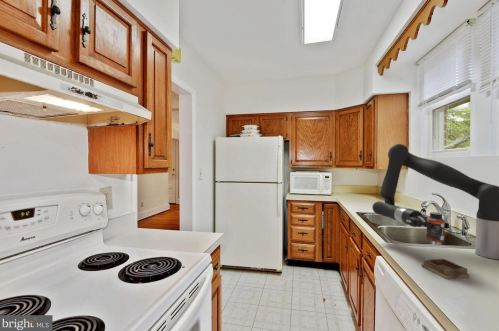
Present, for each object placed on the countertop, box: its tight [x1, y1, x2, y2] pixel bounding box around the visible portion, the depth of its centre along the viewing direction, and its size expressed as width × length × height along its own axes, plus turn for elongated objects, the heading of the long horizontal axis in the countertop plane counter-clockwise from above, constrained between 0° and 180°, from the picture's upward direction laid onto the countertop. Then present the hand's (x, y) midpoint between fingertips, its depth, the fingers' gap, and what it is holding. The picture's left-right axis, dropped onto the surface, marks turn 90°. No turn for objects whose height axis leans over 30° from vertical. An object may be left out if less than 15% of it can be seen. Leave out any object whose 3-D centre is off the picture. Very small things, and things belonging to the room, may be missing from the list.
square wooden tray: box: [421, 258, 470, 280], centre depth 96 cm, size 10×10×3 cm
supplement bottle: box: [425, 211, 446, 243], centre depth 100 cm, size 6×6×11 cm
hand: (441, 226), depth 98 cm, fingers closed on supplement bottle, 6 cm apart
